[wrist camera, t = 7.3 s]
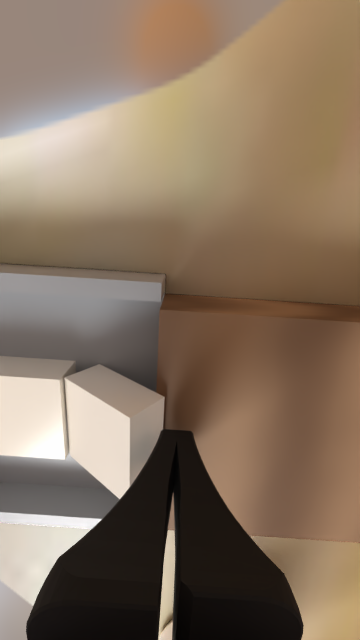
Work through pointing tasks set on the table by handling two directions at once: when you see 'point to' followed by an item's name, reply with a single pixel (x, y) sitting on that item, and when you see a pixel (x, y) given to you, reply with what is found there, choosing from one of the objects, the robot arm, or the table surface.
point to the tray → (87, 350)
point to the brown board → (269, 408)
